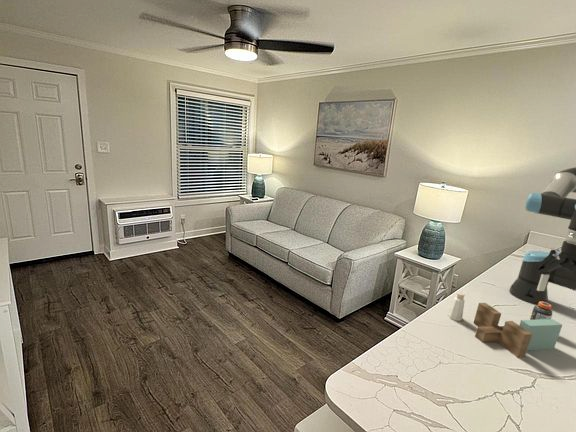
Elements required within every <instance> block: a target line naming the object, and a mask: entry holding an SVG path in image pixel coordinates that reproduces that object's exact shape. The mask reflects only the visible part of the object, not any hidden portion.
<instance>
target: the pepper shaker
mask: <svg viewBox="0 0 576 432" xmlns="http://www.w3.org/2000/svg"><path fill="white" fill-rule="evenodd" d="M464 298H465V293H463V292H461V291H457V292H456V295H455V297H454V298H453V301H452V303H451V305H450V308H449V310H448V313H447V317H448V318H449V319H450V320H453V321H455V322H461V321H462V320H463V314H464V308H465V307H464V306H465V299H464Z"/></svg>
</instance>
